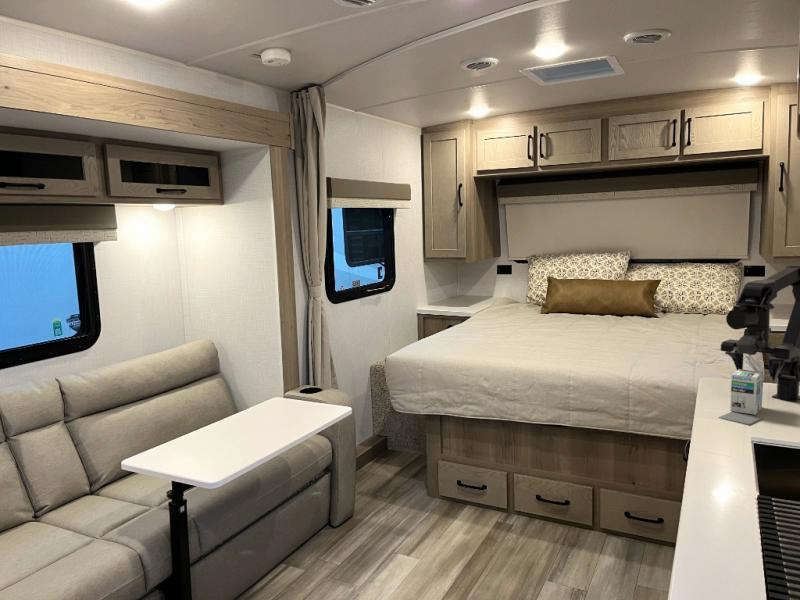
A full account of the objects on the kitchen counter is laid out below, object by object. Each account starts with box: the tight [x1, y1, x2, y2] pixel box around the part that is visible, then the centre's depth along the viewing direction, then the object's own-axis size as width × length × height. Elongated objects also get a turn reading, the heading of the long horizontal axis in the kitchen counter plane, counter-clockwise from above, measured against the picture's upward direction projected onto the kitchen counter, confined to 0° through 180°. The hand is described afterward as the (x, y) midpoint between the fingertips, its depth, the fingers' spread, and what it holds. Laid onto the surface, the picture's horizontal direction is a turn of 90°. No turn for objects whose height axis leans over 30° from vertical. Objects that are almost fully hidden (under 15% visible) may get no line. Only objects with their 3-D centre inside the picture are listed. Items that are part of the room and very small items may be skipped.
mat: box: [718, 411, 764, 426], centre depth 167 cm, size 8×8×1 cm
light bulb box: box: [729, 368, 764, 416], centre depth 174 cm, size 11×7×11 cm, turn 141°
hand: (756, 377), depth 177 cm, fingers open, 9 cm apart
